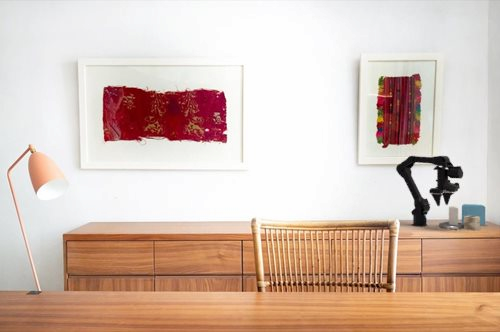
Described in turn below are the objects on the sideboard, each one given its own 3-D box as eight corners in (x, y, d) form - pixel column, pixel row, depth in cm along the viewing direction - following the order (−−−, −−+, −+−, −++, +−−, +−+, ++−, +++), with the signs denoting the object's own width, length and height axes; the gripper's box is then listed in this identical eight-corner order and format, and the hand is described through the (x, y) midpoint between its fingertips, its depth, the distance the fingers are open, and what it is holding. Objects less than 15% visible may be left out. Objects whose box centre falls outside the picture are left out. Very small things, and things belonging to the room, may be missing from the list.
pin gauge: (441, 226, 244) (440, 228, 243) (440, 224, 243) (439, 226, 243) (459, 228, 236) (458, 230, 235) (458, 226, 236) (457, 228, 235)
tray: (439, 226, 245) (439, 223, 245) (448, 225, 252) (448, 221, 252) (458, 229, 237) (458, 225, 237) (467, 227, 243) (467, 223, 243)
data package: (483, 224, 254) (483, 204, 253) (485, 225, 249) (485, 205, 249) (461, 223, 257) (461, 204, 257) (462, 224, 253) (463, 204, 253)
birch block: (463, 228, 239) (463, 216, 238) (468, 227, 242) (469, 215, 242) (474, 230, 234) (475, 217, 234) (479, 229, 238) (479, 216, 237)
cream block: (449, 226, 243) (449, 207, 243) (448, 225, 247) (448, 206, 247) (458, 227, 241) (458, 207, 241) (457, 225, 246) (457, 206, 246)
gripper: (448, 179, 228) (448, 207, 228) (464, 177, 240) (464, 205, 240) (428, 178, 237) (428, 206, 237) (445, 177, 248) (445, 203, 249)
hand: (442, 205), depth 240 cm, fingers open, 9 cm apart
